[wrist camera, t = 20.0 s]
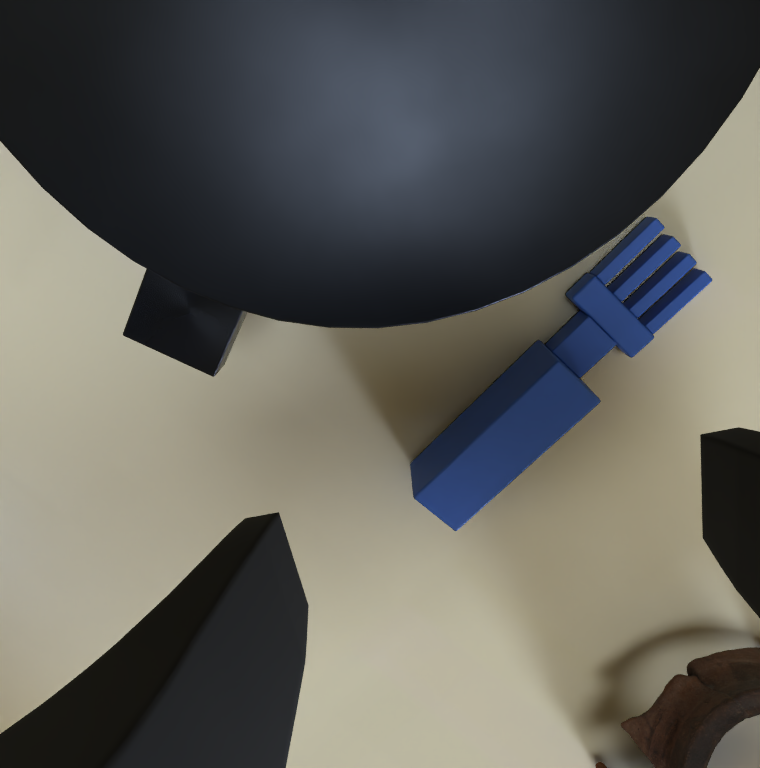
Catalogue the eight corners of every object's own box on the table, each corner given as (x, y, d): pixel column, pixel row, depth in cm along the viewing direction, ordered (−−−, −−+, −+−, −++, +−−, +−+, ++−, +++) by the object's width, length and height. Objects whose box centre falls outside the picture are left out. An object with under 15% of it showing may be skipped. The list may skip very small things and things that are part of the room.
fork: (457, 502, 22) (466, 541, 19) (399, 455, 21) (401, 489, 19) (703, 278, 19) (747, 292, 16) (644, 214, 18) (682, 220, 16)
